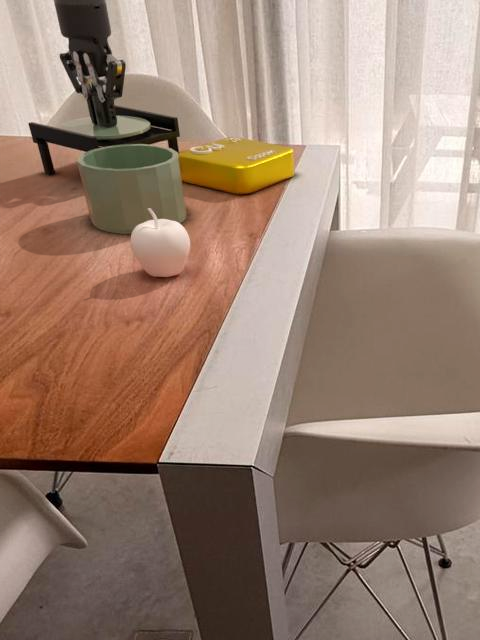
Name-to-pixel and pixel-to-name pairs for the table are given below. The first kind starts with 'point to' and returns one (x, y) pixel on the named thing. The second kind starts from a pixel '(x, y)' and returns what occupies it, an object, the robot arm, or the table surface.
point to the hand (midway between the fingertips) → (104, 124)
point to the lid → (123, 129)
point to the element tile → (236, 165)
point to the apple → (160, 246)
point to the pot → (131, 185)
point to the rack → (87, 143)
